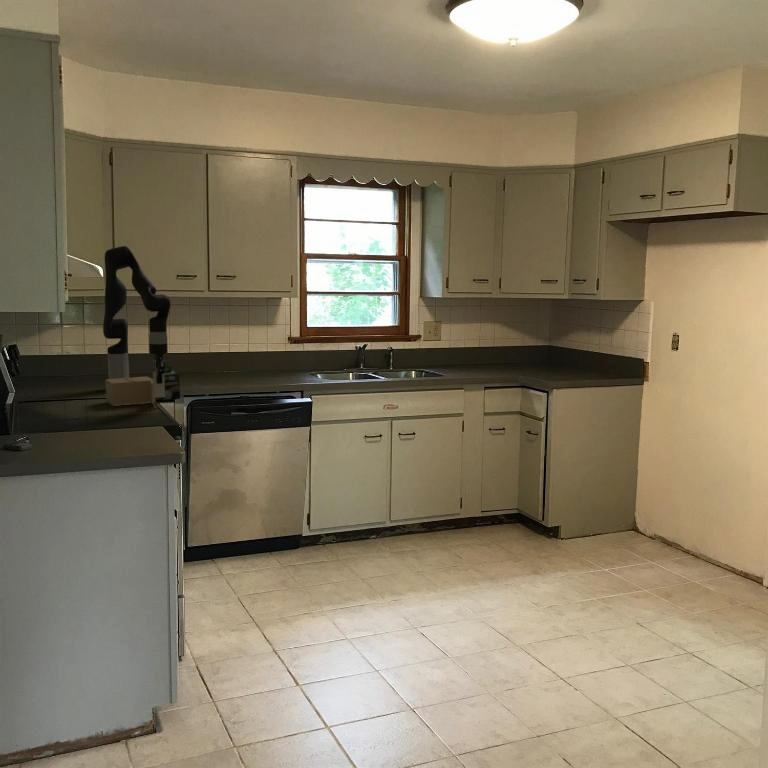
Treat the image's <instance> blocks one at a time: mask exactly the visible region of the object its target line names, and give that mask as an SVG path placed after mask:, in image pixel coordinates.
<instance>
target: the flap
mask: <svg viewBox="0 0 768 768" xmlns="http://www.w3.org/2000/svg"><path fill="white" fill-rule="evenodd" d="M152 379H153V381H151V401H152V403H151V405H152V404H153V403H154V398H156V399H158V398H157V397H165V382H164V374H163V375H162V384H157V374H156V371H152ZM154 404H155V403H154Z"/></svg>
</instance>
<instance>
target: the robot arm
mask: <svg viewBox="0 0 768 768" xmlns="http://www.w3.org/2000/svg"><path fill="white" fill-rule="evenodd" d="M126 268H130V269H131V273H132V274H131V284H132V286H133V289H134V290H135V291H136V292H137V293H138V295H139V296H140V297H141V298H140V299H141V301H142V304H143V307H144V308H145V309H146V310H147V311H149V312H152V313H153V312H154V313H155V312H156V315H155V316H153V317H151V318H149V320H148V329H149V330H148V331H149V332H148V353H149V354H150V355H153V358H152V359H151V362H152V369H153V371H156V374H157V384H162V375H163V374H164V370H165V369H166V368H165V366H166V361H165V358H164V355H166V354H168V352H169V351H168V348H169V347H168V332H167V326H168V325H167V323H168V322H167V321H168V318H169V314H170V309H171V299H170V297H169V296H168V295H166V294H164V293H163V294H157V289H156V286H155V285H154V284H153V283H152V282H151V280H150V279H149V278H148V277H147V275H146V274H145V272H144V271H143V269H142V267H141V265H140V263H139V262H138V260H137V258H136V256H135V254H134V253H133V252H132V250H131V249H130V247H128V246H126V245H122V246H118V247H114V248H110V249H107V250H106V251H105V253H104V270H105V288H104V290H105V291H104V317H103V324H102V332H103V336H104V338H106V339H108V340H115V339H116V340H117V339H118V340H119V341H118V342H117V343H115V344H113V345H110V346H108V347H107V348H106V351H107V367H108V369H107V370H108V372H107V373H108V379H119V378H127V377H130V363H129V347H128V346H129V341H128V336H129V334H128V332H129V327H128V326H129V325H128V324H129V323H128V321H127V320H126V318H115V316H116V315H117V314H118V313H119V312H120V311H121V310H122V309H123V308H124V306H125V305H126V303H127V296H128V295H127V287H126V285H125V284H124V282H123V281H122V280H121V279H120V278H119V277H118V276H117V272H118V270H123V269H126ZM153 371H152V372H153Z"/></svg>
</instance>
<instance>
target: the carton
mask: <svg viewBox="0 0 768 768" xmlns="http://www.w3.org/2000/svg"><path fill="white" fill-rule="evenodd" d="M151 381H153V378H151V377H149V376H135V377H130V376H129V377H127V378H119V379H109V378H108V379H107V378H106V379H105V399H106V400H105V401H107V402H110V403H112V404H124V403H141V402H148V401H151ZM156 399H157V398H154V401H155V402H157V401H156ZM107 402H106V403H107Z"/></svg>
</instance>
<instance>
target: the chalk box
mask: <svg viewBox="0 0 768 768" xmlns="http://www.w3.org/2000/svg"><path fill="white" fill-rule="evenodd" d="M165 369H167V370H165ZM165 369H164V382H165V397H157V398H156V399H158V400H160V401H165V400H173V399H174V400H175V399H176V400H177V399H180V398H181V389H180V388H181V385H180V384H181V383H180V378H181V377H180V373H179V372H176V371H174V370H172V365H171V364H169V365H165Z"/></svg>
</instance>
